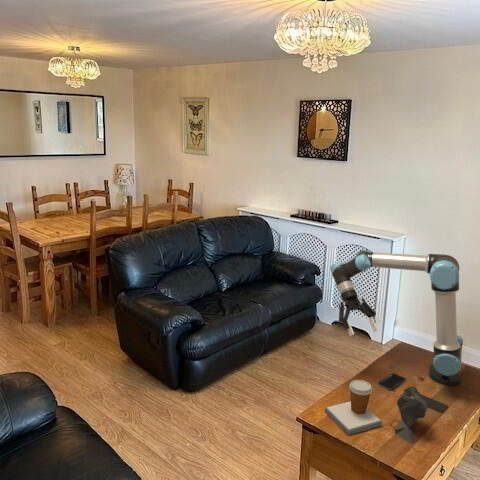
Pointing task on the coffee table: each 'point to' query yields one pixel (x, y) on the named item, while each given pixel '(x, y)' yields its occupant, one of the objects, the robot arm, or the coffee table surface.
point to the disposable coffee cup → (359, 395)
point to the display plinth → (352, 418)
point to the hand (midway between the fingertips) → (364, 332)
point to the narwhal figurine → (410, 412)
